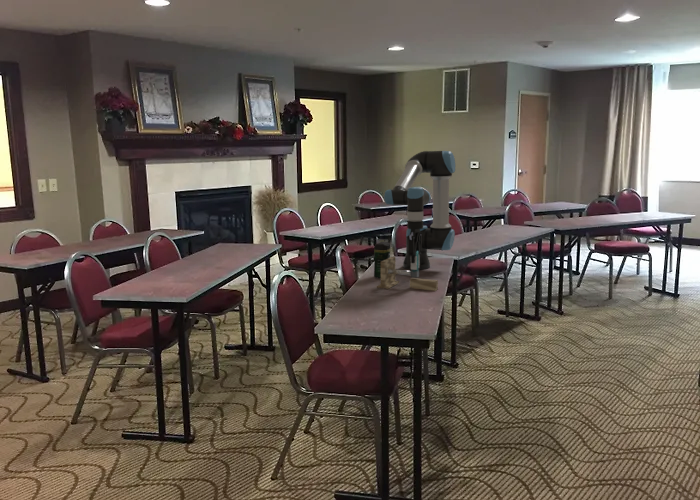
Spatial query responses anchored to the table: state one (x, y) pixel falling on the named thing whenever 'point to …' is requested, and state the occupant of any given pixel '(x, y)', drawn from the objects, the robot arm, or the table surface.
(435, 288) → the tan wooden bar
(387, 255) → the coffee jar
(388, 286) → the tan wooden block
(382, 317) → the table surface
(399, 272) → the teal handled tool
